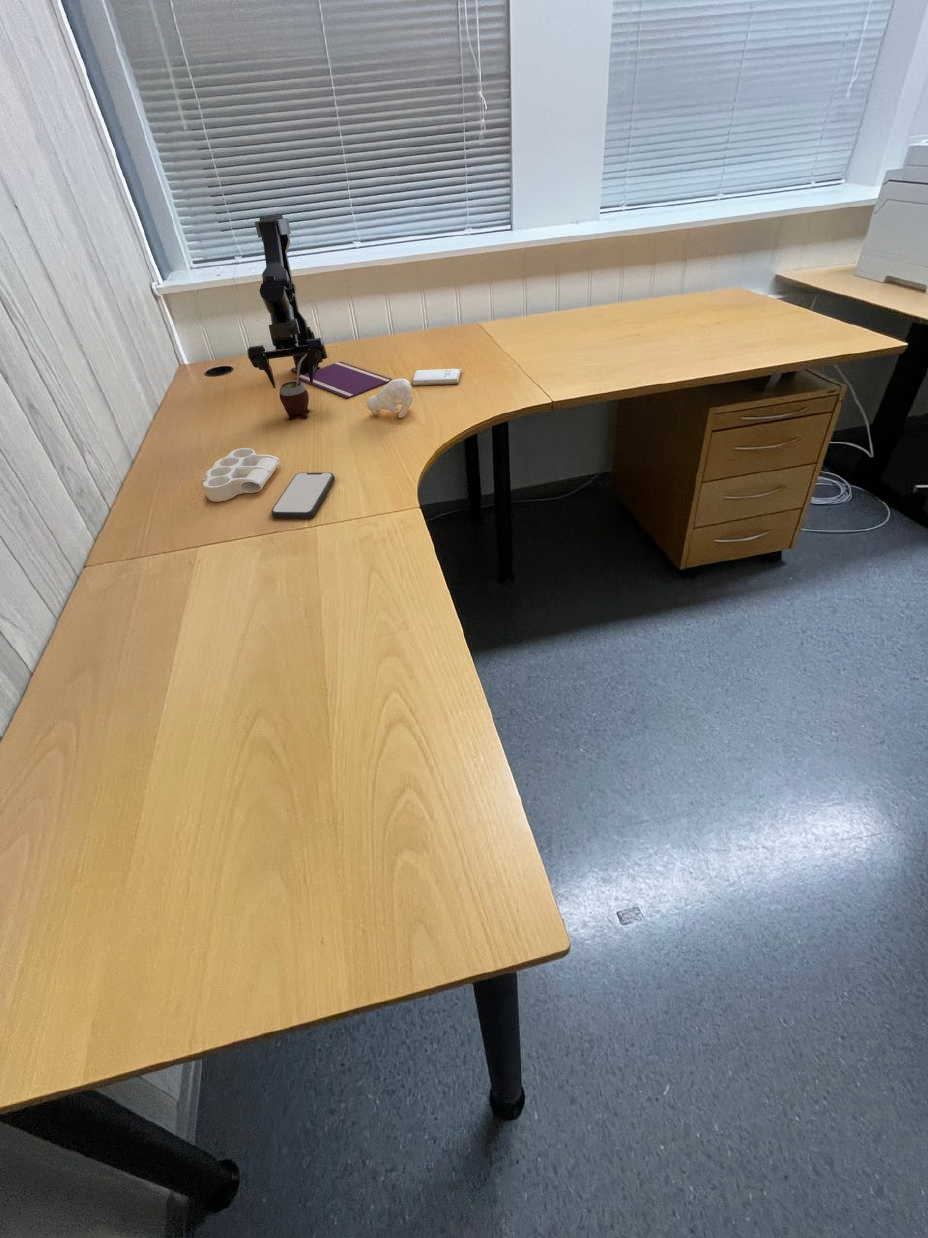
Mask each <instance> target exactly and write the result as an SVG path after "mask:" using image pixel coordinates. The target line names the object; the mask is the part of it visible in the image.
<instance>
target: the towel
mask: <svg viewBox="0 0 928 1238" xmlns="http://www.w3.org/2000/svg"><path fill="white" fill-rule="evenodd" d="M295 379H297V376H296V377H295ZM391 380H394V379H392V378H389V377H387V376H384V375H380V374H378V373H374V372H372V371H369V370H366V369H363V368H361V367H357V366H354V365H352V364H348V363H345V362H342V361H338V362H334V363H332V364H329V365H327V366H324V367H320V369H317V370H316V372H315V375H314V379H313V383H312V384H311V383H310V379H309V373H306V374H303V375H302V374H299V381H300V382H303V383H306V384H308V385H310V386H314V387H316V388H319V389H321V390H323V391H327V392H328V393H331V394H334V395H336V396H339V397H341V398H343V399H346V400H348V399H350V398H354V397H355V396H358V395H361V394H364V393H365V392H368V391H370V390H373V389H376V388H379V387H381V386H383V385H384V386H385V385H386V384H388V383H389V382H390V381H391Z"/></svg>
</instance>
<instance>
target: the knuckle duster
mask: <svg viewBox="0 0 928 1238" xmlns="http://www.w3.org/2000/svg"><path fill="white" fill-rule="evenodd" d="M280 465H281V460H280V458H279V457H277V456H275V455H271V454H257V453H256V450H255V449H253V448H251V447H241V448H235V449H234V450H231V451H230V452H229V454H228V455H226V456H224V457H222V458H218V460H217V461H215V462H214V463H213V466H212V467H211V468H209V469H207V471H206V473H205V477H204V478H203V479H202V480H201V482H202V487H203V489H204V491H205V494H206V496H207V499H208V500H209V501H211V502H215V503H216V502H226V501H228V500H231V499H233V498H235V497H236V496H238V495H242V494H253V493H258V492H260V491H261V490H263V488H264V486H265V485H266V483H267V482H268V480H269V479H270V478H271V477H272V476H273V474H274V472H275V471H276V469H278V467H279V466H280Z"/></svg>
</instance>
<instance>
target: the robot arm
mask: <svg viewBox="0 0 928 1238" xmlns="http://www.w3.org/2000/svg"><path fill="white" fill-rule="evenodd" d="M254 225H255V229H256V230H255V231H256V233H257V238H258V239H259V238H261V241H262V244H263V251H264V252H263V253H264V260H265V269H264V270H263V271H262V273H261V277H262V283H261V284H260V287H259V294H260V297H261V299H262V302H263V304H264V305H265V308H266V310H267V312H268V314H269V315H270V321H271V324H269V325H268V330H269V334H270V339H271V343H272V346H273V347H274V348H275V349H268V350H266V348H265V347H264V344H260V345H253V346H248V348H247V350H246V352H247V358H248V359H249V361H250V363H251V365H252V366H253V368H256V369H258V370H259V371H264V372H265V374H266V376H267V377H268V379H269V382H270V384H271V387H272V388H273V389H276V387H277V386H276V381H275V377H274V374H273V369H272V366H271V364H270V360H272V359H280V358H288V357H292V359H293V363H294V367H291V371H292V372H295V373H297V365H298V363H299V361H300V360H301V358H302V357H303V356H305V355H306V354H307V356H306V357H305V358H304V359H303V361H302V363H301V368H300V372H299V375H304V374H307V373H309V379H310V383H311V384H312V383H313V379H314V375H315V372H316V370H318V369H321V367H320V366H319V364H321V363H323V362H324V360H327V359H328V353H327V347H326V345H325V342H324V341H325V340H324V339H322V338H321V337H315V336H316V335H315V333H314V331H313V330H312V329H311V326H309V325H308V320H307V319H306V318H305V317H304V316H303V315H302V313H301V312H300V309H299V304H298V299H297V295H296V294H297V293H296V292H297V286H296V284H294V281H293V275H292V271H291V266H290V261H289V257H288V251H289V247H290V244H291V238H290V235H291V234H292V232H291V227H290V222H289V219H288V218H284V216H283V214H272V215H263V216H259V220H258V221H254ZM311 384H310V385H311Z"/></svg>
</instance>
